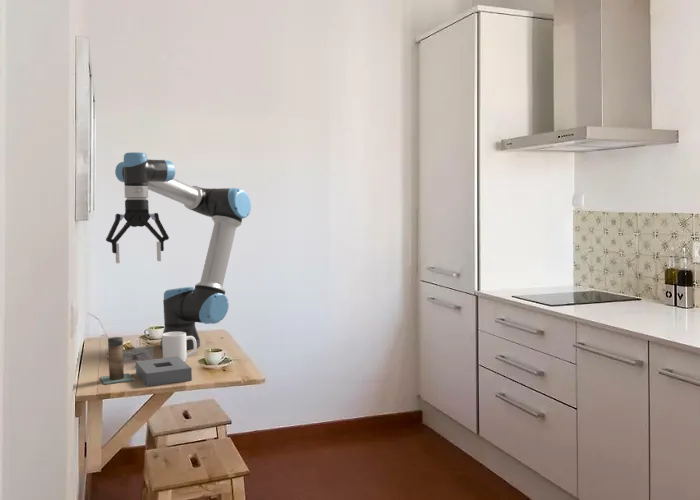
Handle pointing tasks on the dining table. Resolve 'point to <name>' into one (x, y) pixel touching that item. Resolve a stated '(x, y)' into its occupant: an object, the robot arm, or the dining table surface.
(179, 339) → the cup
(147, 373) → the socket block
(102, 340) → the dining table surface
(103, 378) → the mat
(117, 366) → the plug
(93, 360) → the dining table surface
